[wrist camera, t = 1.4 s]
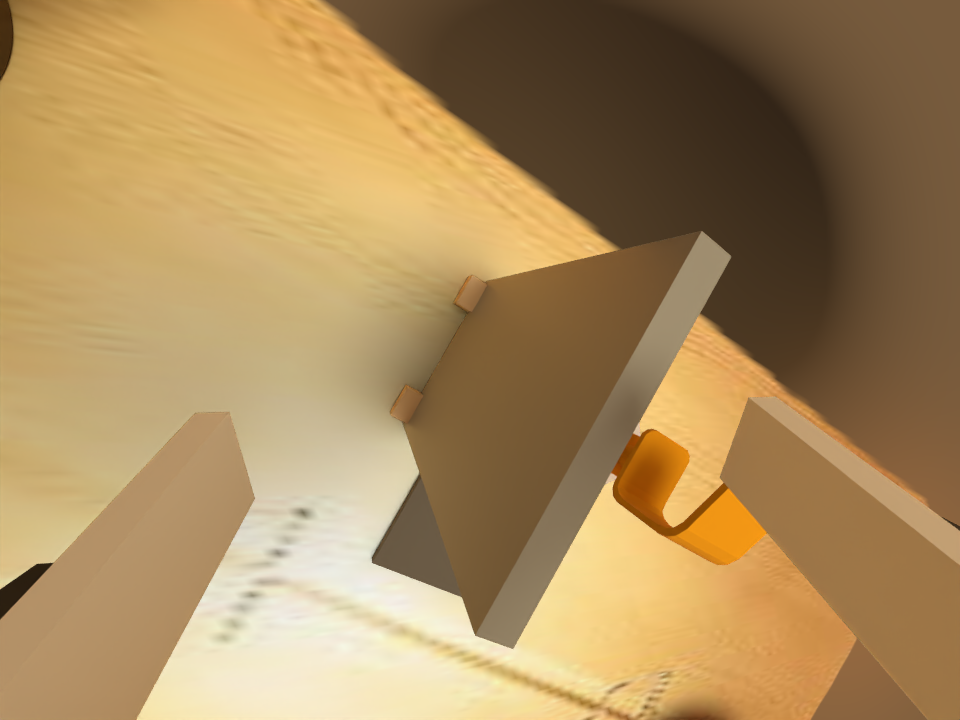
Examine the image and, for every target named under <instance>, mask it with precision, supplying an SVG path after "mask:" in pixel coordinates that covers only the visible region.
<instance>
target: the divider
mask: <svg viewBox="0 0 960 720" xmlns="http://www.w3.org/2000/svg"><path fill="white" fill-rule="evenodd" d="M730 258H731V256H730V255H729V254H728V253H727V252H726V251H725V250H723V249H722V248H721V247H720V246H719V245H718V244H716V243H715V242H714V241H713V240H712V239H710V238H709V237H708V236H707V235H706V234H705V233H704V232H702V231H700V232H696V233H691V234H687V235H683V236H679V237H674V238H670V239H666V240H661V241H657V242H653V243H648V244H644V245H640V246H636V247H631V248H627V249H622V250H618V251H614V252H610V253H605V254H601V255H597V256H592V257H588V258H584V259H579V260H575V261H571V262H567V263H562V264H558V265H554V266H549V267H545V268H541V269H536V270H532V271H528V272H523V273H519V274H515V275H511V276H506V277H502V278H498V279H493V280H489V281H486V282H485V283H484V282H483V281H481V280H480V279H478V278H477V277H475V276H474V275H471V276H469V277H468V278H467V280H466V282H465V284H464V285H463V287H462V289H461V290H460V292H459V294H458V296H457V297H456V299H455V301H454V304H456V305H457V306H459V307H460V308H462V309H464V310H465V311H467V312H468V313H467V315H466V317H465V318H464V320H463V322H462V323H461V325H460V327H459V329H458V330H457V332H456V334H455V336H454V337H453V339H452V341H451V342H450V344H449V346H448V348H447V349H446V351H445V353H444V355H443V356H442V358H441V360H440V361H439V363H438V365H437V367H436V368H435V370H434V372H433V374H432V375H431V377H430V379H429V380H428V382H427V384H426V386H425V387H424V389H423V391H422V393H421V392H419V391H417V390H415V389H414V388H412V387H410V386H408V385H405V387H404V389H403V390H402V392H401V394H400V396H399V397H398V399H397V401H396V403H395V404H394V406H393V408H392V409H391V411H390V414H391V416H393V417H395V418H397V419H398V420H400V421H402V422H404V424H403V425H404V428H405V431H406V434H407V437H408V440H409V443H410V446H411V449H412V452H413V455H414V458H415V461H416V464H417V466H418V469H419V472H420V475H421V478H422V481H423V484H424V487H425V490H426V493H427V496H428V499H429V502H430V505H431V508H432V510H433V513H434V516H435V519H436V522H437V525H438V528H439V531H440V534H441V537H442V540H443V543H444V546H445V549H446V552H447V554H448V557H449V560H450V563H451V566H452V569H453V572H454V575H455V578H456V581H457V584H458V587H459V590H460V593H461V595H462V598H463V601H464V604H465V607H466V610H467V613H468V616H469V619H470V622H471V625H472V628H473V631H474V634H475V636H478V637H481V638H484V639H486V640H489V641H492V642H495V643H498V644H501V645H503V646H506V647H509V648H512V649H513V648H514V646H515V645H516V643H517V641H518V639H519V637H520V636H521V634H522V632H523V630H524V628H525V627H526V625H527V623H528V621H529V619H530V618H531V616H532V614H533V612H534V610H535V609H536V607H537V605H538V603H539V601H540V600H541V598H542V596H543V594H544V592H545V591H546V589H547V587H548V585H549V583H550V582H551V580H552V578H553V576H554V574H555V573H556V571H557V569H558V567H559V565H560V564H561V562H562V560H563V558H564V556H565V555H566V553H567V551H568V549H569V547H570V546H571V544H572V542H573V540H574V538H575V537H576V535H577V533H578V531H579V529H580V528H581V526H582V524H583V522H584V520H585V519H586V517H587V515H588V513H589V512H590V510H591V508H592V506H593V504H594V503H595V501H596V499H597V497H598V495H599V494H600V492H601V490H602V488H603V486H604V485H605V483H606V481H607V479H608V477H609V476H610V474H611V472H612V470H613V468H614V467H615V465H616V463H617V461H618V459H619V458H620V456H621V454H622V452H623V450H624V449H625V447H626V445H627V443H628V441H629V440H630V438H631V436H632V434H633V432H634V431H635V429H636V427H637V425H638V423H639V422H640V420H641V418H642V416H643V414H644V413H645V411H646V409H647V407H648V405H649V404H650V402H651V400H652V398H653V396H654V395H655V393H656V391H657V389H658V387H659V386H660V384H661V382H662V380H663V378H664V377H665V375H666V373H667V371H668V369H669V368H670V366H671V364H672V362H673V360H674V359H675V357H676V355H677V353H678V352H679V350H680V348H681V346H682V344H683V343H684V341H685V339H686V337H687V335H688V334H689V332H690V330H691V328H692V326H693V325H694V323H695V321H696V319H697V317H698V316H699V314H700V312H701V310H702V308H703V307H704V305H705V303H706V301H707V299H708V298H709V296H710V294H711V292H712V290H713V289H714V287H715V285H716V283H717V281H718V280H719V278H720V276H721V274H722V272H723V271H724V269H725V267H726V265H727V263H728V261H729V260H730Z"/></svg>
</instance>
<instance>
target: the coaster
mask: <svg viewBox="0 0 960 720" xmlns="http://www.w3.org/2000/svg"><path fill="white" fill-rule="evenodd" d="M372 563H374V564H376V565H379V566H382V567H384V568H387V569H390V570H392V571H395V572H397V573H400V574H403V575H405V576H408V577H410V578H413V579H416V580H418V581H421V582H424V583H426V584H429V585H431V586H434V587H437V588H439V589H442V590H445V591H447V592H450V593H452V594H455V595H458V596H460V597H462V595H461V593H460V590H459V587H458V584H457V581H456V578H455V575H454V572H453V569H452V566H451V563H450V560H449V557H448V554H447V552H446V549H445V546H444V543H443V540H442V537H441V534H440V531H439V528H438V525H437V522H436V519H435V516H434V513H433V510H432V508H431V505H430V502H429V499H428V496H427V493H426V490H425V487H424V484H423V481H422V478H421V475H420V476H419V477H418V479H417V481H416V482H415V484H414V486H413V488H412V489H411V491H410V493H409V495H408V496H407V498H406V500H405V502H404V503H403V505H402V507H401V509H400V510H399V512H398V514H397V516H396V517H395V519H394V521H393V523H392V524H391V526H390V528H389V530H388V531H387V533H386V535H385V536H384V538H383V540H382V542H381V543H380V545H379V547H378V549H377V550H376V552H375V554H374V556H373V557H372Z"/></svg>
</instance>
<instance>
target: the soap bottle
mask: <svg viewBox="0 0 960 720" xmlns="http://www.w3.org/2000/svg"><path fill="white" fill-rule="evenodd" d="M689 457H690V456H689V453H688V451H687V450H686V449H684V448H683V447H681V446H680V445H678V444H677V443H675V442H674V441H672V440H671V439H669V438H668V437H666V436H664V435H663V434H661V433H660V432H658V431H657V430H654V429H649V430H646V431H645V432H643V433H642V434H641V436H640V425H639V423H638V425H637V427H636V429H635V431H634V432H633V434H632V436H631V438H630V440H629V441H628V443H627V445H626V447H625V449H624V450H623V452H622V454H621V456H620V458H619V459H618V461H617V463H616V465H615V467H614V468H613V470H612V472H611V474H610V476H609V477H608V479H607V481H606V483H605V484H607V483H609V482H611V481H613V480H615V482H614V485H613V496H614V498H615V499H616V501H617V502H618V503H619V504H620V505H622V506H623V507H624V508H626V509H627V510H628V511H630V512H631V513H632V514H634V515H635V516H636V517H638V518H639V519H640V520H642V521H643V522H644V523H645V524H647V525H648V526H649V527H651V528H652V529H653V530H655V531H656V532H657V533H659V534H661V535H662V536H664V537H666V538H668V539H670V540H672V541H673V542H675V543H677V544H679V545H681V546H682V547H684V548H686V549H688V550H690V551H692V552H693V553H695V554H697V555H699V556H701V557H703V558H704V559H706V560H708V561H710V562H712V563H715V564H717V565H728V564H730V563H732V562H734V561H736V560H738V559H739V558H741V557H742V556H743V555H744V554H745V553H746V552H747V551H748V550H749V549H750V548H751V547H752V546H754V545H755V544H756V543H757V542H758V541H759V540H760V539H761V538H762V537H763V536H764V535H765V534H767V532H766V531H765V530H764V529H763V527H762V526H761V525H760V524H759V523H758V522H757V520H756V519H755V518H754V517H753V516H752V515H751V513H750V512H749V511H748V510H747V509H746V508H745V506H744V505H743V504H742V503H741V502H740V501H739V499H738V498H737V497H736V496H735V495H734V494H733V493H732V491H731V490H730V489H729V488H728V487H727V486H726V484H725V483H723V484H722V485H721V486H720V487H719V488H718V489H717V490H716V491H715V492H714V493H713V494H712V495H711V496H710V497H709V498H708V499H707V500H706V501H705V502H704V503H703V504H702V505H700V506H699V507H698V508H697V509H696V510H695V511H694V512H693V513H692V514H691V515H690V516H689V517H688V518H687V519H686V520H685V521H684V522H683V523H681V524H679V525H678V526H676V527H674V528H673V527H671V526H670V525H669V524H668V523H667V522H666V520H665V519H664V517H663V513H662V511H663V508H664V506H665V504H666V502H667V500H668V498H669V497H670V495H671V493H672V491H673V490H674V488H675V486H676V484H677V483H678V481H679V479H680V477H681V476H682V474H683V472H684V470H685V468H686V467H687V465H688V463H689Z"/></svg>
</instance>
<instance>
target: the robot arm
mask: <svg viewBox="0 0 960 720" xmlns="http://www.w3.org/2000/svg"><path fill="white" fill-rule="evenodd" d="M11 45H12V22H11V15H10V10H9V6H8V2H7V0H0V77H1V75H2V73H3V72H4V69H5V67H6V65H7V62H8V59H9V55H10V51H11ZM720 479H721V480H722V481H723V482H724V483H725V484H726V486H727V487H728V488H729V489H730V490H731V491H732V493H733V494H734V495H735V496H736V497H737V498H738V499H739V501H740V502H741V503H742V504H743V505H744V506H745V508H746V509H747V510H748V511H749V512H750V513H751V515H752V516H753V517H754V518H755V519H756V520H757V522H758V523H759V524H760V525H761V526H762V527H763V529H764V530H765V531H766V532H767V533H768V534H769V536H770V537H771V538H772V539H773V540H774V541H775V543H776V544H777V545H778V546H779V547H780V548H781V550H782V551H783V552H784V553H785V554H786V555H787V557H788V558H789V559H790V560H791V561H792V562H793V564H794V565H795V566H796V567H797V568H798V569H799V571H800V572H801V573H802V574H803V575H804V576H805V578H806V579H807V580H808V581H809V582H810V583H811V585H812V586H813V587H814V588H815V589H816V590H817V592H818V593H819V594H820V595H821V596H822V597H823V598H824V600H825V601H826V602H827V603H828V604H829V605H830V607H831V608H832V609H833V610H834V611H835V612H836V614H837V615H838V616H839V617H840V618H841V619H842V621H843V622H844V623H845V624H846V625H847V626H848V628H849V629H850V630H851V631H852V632H853V633H854V635H855V636H856V637H857V638H858V639H859V640H860V642H861V643H862V644H863V645H864V646H865V647H866V648H867V650H868V651H869V652H870V653H871V654H872V656H873V657H874V658H875V659H876V660H877V661H878V663H879V664H880V665H881V666H882V667H883V668H884V669H885V671H886V672H887V673H888V674H889V675H890V676H891V678H892V679H893V680H894V681H895V682H896V684H897V685H898V686H899V687H900V688H901V689H902V690H903V692H904V693H905V694H906V695H907V696H908V697H909V699H910V700H911V701H912V702H913V703H914V704H915V706H916V707H917V708H918V709H919V710H920V711H921V713H922V714H923V715H924V716H925V717H926V718H927V720H960V526H958V525H956V524H954V523H952V522H950V521H948V520H947V519H945V518H943V517H941V516H939V515H937V514H936V513H935V512H933V511H932V510H930V509H929V508H928V507H926V506H925V505H924V504H922V503H921V502H920V501H918V500H917V499H915V498H914V497H913V496H911V495H910V494H909V493H907V492H906V491H904V490H903V489H902V488H900V487H899V486H898V485H896V484H895V483H893V482H892V481H891V480H889V479H888V478H887V477H885V476H884V475H883V474H881V473H880V472H878V471H877V470H876V469H874V468H873V467H872V466H870V465H869V464H867V463H866V462H865V461H863V460H862V459H861V458H859V457H858V456H856V455H855V454H854V453H852V452H851V451H850V450H848V449H847V448H845V447H844V446H843V445H841V444H840V443H839V442H837V441H836V440H834V439H833V438H832V437H830V436H829V435H828V434H826V433H825V432H823V431H822V430H821V429H819V428H818V427H817V426H815V425H814V424H813V423H811V422H810V421H808V420H807V419H806V418H804V417H803V416H802V415H800V414H799V413H797V412H796V411H795V410H793V409H792V408H791V407H789V406H788V405H786V404H785V403H784V402H782V401H781V400H780V399H778V398H777V397H749V398H748V401H747V404H746V406H745V409H744V412H743V415H742V417H741V420H740V423H739V426H738V428H737V431H736V434H735V437H734V439H733V442H732V445H731V448H730V450H729V453H728V456H727V459H726V461H725V464H724V467H723V470H722V472H721V475H720ZM254 499H255V497H254V494H253V490H252V487H251V484H250V480H249V477H248V474H247V470H246V467H245V463H244V460H243V457H242V453H241V450H240V446H239V443H238V440H237V436H236V433H235V430H234V426H233V423H232V419H231V416H230V413H229V412H211V413H195V414H194V415H193V416H192V417H191V418H190V419H189V420H188V421H187V422H186V423H185V424H184V425H183V427H182V428H181V429H180V430H179V431H178V432H177V433H176V434H175V435H174V436H173V437H172V438H171V439H170V440H169V441H168V442H167V444H166V445H165V446H164V447H163V448H162V449H161V450H160V451H159V452H158V453H157V454H156V455H155V456H154V457H153V458H152V459H151V460H150V462H149V463H148V464H147V465H146V466H145V467H144V468H143V469H142V470H141V471H140V472H139V473H138V474H137V475H136V476H135V477H134V479H133V480H132V481H131V482H130V483H129V484H128V485H127V486H126V487H125V488H124V489H123V490H122V491H121V492H120V493H119V494H118V495H117V497H116V498H115V499H114V500H113V501H112V502H111V503H110V504H109V505H108V506H107V507H106V508H105V509H104V510H103V511H102V512H101V514H100V515H99V516H98V517H97V518H96V519H95V520H94V521H93V522H92V523H91V524H90V525H89V526H88V527H87V528H86V529H85V530H84V532H83V533H82V534H81V535H80V536H79V537H78V538H77V539H76V540H75V541H74V542H73V543H72V544H71V545H70V546H69V547H68V549H67V550H66V551H65V552H64V553H63V554H62V555H61V556H60V557H59V558H58V559H57V560H56V561H55V562H54V563H45V564H36V565H35V566H33V567H32V568H30V569H29V570H28V571H26V572H25V573H23V574H22V575H20V576H19V577H18V578H16V579H15V580H13V581H12V582H10V583H9V584H7V585H6V586H5V587H3V588H2V589H0V720H136V719H137V717H138V715H139V713H140V711H141V709H142V708H143V706H144V704H145V702H146V700H147V698H148V696H149V695H150V693H151V691H152V689H153V687H154V685H155V683H156V682H157V680H158V678H159V676H160V674H161V672H162V670H163V669H164V667H165V665H166V663H167V661H168V659H169V657H170V656H171V654H172V652H173V650H174V648H175V646H176V644H177V642H178V641H179V639H180V637H181V635H182V633H183V631H184V629H185V628H186V626H187V624H188V622H189V620H190V618H191V616H192V615H193V613H194V611H195V609H196V607H197V605H198V603H199V602H200V600H201V598H202V596H203V594H204V592H205V590H206V589H207V587H208V585H209V583H210V581H211V579H212V577H213V575H214V574H215V572H216V570H217V568H218V566H219V564H220V562H221V561H222V559H223V557H224V555H225V553H226V551H227V549H228V548H229V546H230V544H231V542H232V540H233V538H234V536H235V535H236V533H237V531H238V529H239V527H240V525H241V523H242V522H243V520H244V518H245V516H246V514H247V512H248V510H249V509H250V507H251V505H252V503H253V501H254Z"/></svg>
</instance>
